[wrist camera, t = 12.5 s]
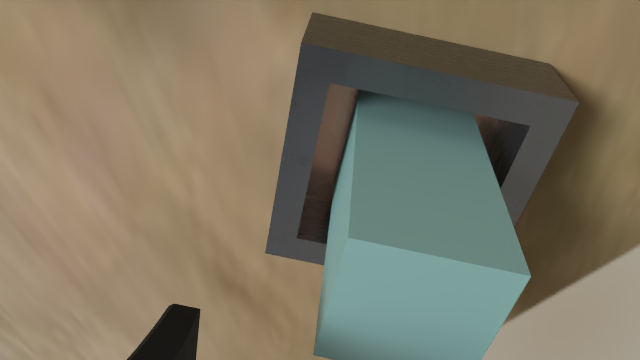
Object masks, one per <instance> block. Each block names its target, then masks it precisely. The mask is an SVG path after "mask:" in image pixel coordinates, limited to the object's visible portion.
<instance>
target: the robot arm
mask: <svg viewBox="0 0 640 360" xmlns="http://www.w3.org/2000/svg"><path fill="white" fill-rule="evenodd" d="M199 318H200V309H198V308H193V307H188V306H183V305H178V304H172V305H170V306H168V308H167V309H166V311H165V312H164V314H163V315H162V316H161V318H160V319H159V321H158V322H157V323H156V325H155V326H154V327H153V329H152V330H151V331H150V332H149V334H148V335H147V336H146V337H145V339H144V340H143V341H142V342H141V344H140V345H139V346H138V347H137V348H136V350H135V351H134V352H133V353H132V354H131V356H130V357H129V358H128V359H127V360H196V352H197V340H198V329H199Z"/></svg>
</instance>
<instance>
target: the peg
mask: <svg viewBox="0 0 640 360" xmlns="http://www.w3.org/2000/svg"><path fill="white" fill-rule="evenodd" d="M530 278H531V274H530V272H529V269H528V266H527V263H526V260H525V257H524V255H523V252H522V249H521V246H520V243H519V241H518V238H517V235H516V232H515V229H514V227H513V224H512V221H511V218H510V215H509V213H508V210H507V207H506V204H505V201H504V199H503V196H502V193H501V190H500V187H499V185H498V182H497V179H496V176H495V173H494V171H493V168H492V165H491V162H490V159H489V157H488V154H487V151H486V148H485V145H484V143H483V140H482V137H481V134H480V131H479V129H478V126H477V123H476V120H475V117H474V115H473V113H468V112H463V111H458V110H454V109H449V108H444V107H440V106H435V105H430V104H426V103H421V102H416V101H412V100H407V99H402V98H398V97H393V96H388V95H384V94H379V93H374V92H370V91H365V90H360V89H358V92H357V96H356V100H355V104H354V108H353V112H352V116H351V119H350V123H349V127H348V131H347V135H346V139H345V143H344V147H343V151H342V154H341V158H340V162H339V166H338V170H337V174H336V178H335V182H334V190H333V198H332V206H331V214H330V223H329V231H328V239H327V247H326V255H325V263H324V271H323V280H322V288H321V296H320V304H319V312H318V320H317V329H316V337H315V345H314V353H313V355H315V356H320V357H325V358H330V359H335V360H482V358H483V356H484V355H485V353H486V351H487V350H488V348H489V346H490V345H491V343H492V341H493V340H494V338H495V336H496V334H497V333H498V331H499V329H500V328H501V326H502V324H503V323H504V321H505V319H506V318H507V316H508V314H509V313H510V311H511V309H512V308H513V306H514V304H515V303H516V301H517V299H518V298H519V296H520V294H521V293H522V291H523V289H524V288H525V286H526V284H527V283H528V281H529V279H530Z"/></svg>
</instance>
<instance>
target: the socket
mask: <svg viewBox="0 0 640 360" xmlns="http://www.w3.org/2000/svg"><path fill="white" fill-rule="evenodd" d="M358 89H360V90H365V91H370V92H374V93H379V94H384V95H388V96H393V97H398V98H402V99H407V100H412V101H416V102H421V103H426V104H430V105H435V106H440V107H444V108H449V109H454V110H458V111H463V112H468V113H473V115H474V117H475V120H476V123H477V126H478V129H479V131H480V134H481V137H482V140H483V143H484V145H485V148H486V151H487V154H488V157H489V159H490V162H491V165H492V168H493V171H494V173H495V176H496V179H497V182H498V185H499V187H500V190H501V193H502V196H503V199H504V201H505V204H506V207H507V210H508V213H509V215H510V218H511V221H512V224H513V227H515V225H516V223H517V222H518V220H519V218H520V216H521V214H522V212H523V210H524V208H525V206H526V204H527V202H528V200H529V198H530V197H531V195H532V193H533V191H534V189H535V187H536V185H537V183H538V181H539V179H540V177H541V175H542V174H543V172H544V170H545V168H546V166H547V164H548V162H549V160H550V158H551V156H552V154H553V152H554V150H555V149H556V147H557V145H558V143H559V141H560V139H561V137H562V135H563V133H564V131H565V129H566V127H567V125H568V124H569V122H570V120H571V118H572V116H573V114H574V112H575V110H576V108H577V106H578V104H579V101H578V100H577V99H576V97H575V96H574V95H573V93H572V92H571V91H570V90H569V88H568V87H567V86H566V84H565V83H564V82H563V81H562V79H561V78H560V77H559V75H558V74H557V73H556V72H555V70H554V69H553V68H552V66H551V65H550V64H547V63H543V62H538V61H534V60H529V59H524V58H520V57H515V56H511V55H506V54H501V53H497V52H492V51H488V50H483V49H478V48H474V47H469V46H464V45H460V44H455V43H451V42H446V41H441V40H437V39H432V38H428V37H423V36H418V35H414V34H409V33H405V32H400V31H395V30H391V29H386V28H382V27H377V26H372V25H368V24H363V23H359V22H354V21H349V20H345V19H340V18H336V17H331V16H326V15H322V14H317V13H312V15H311V18H310V21H309V23H308V26H307V29H306V31H305V34H304V37H303V39H302V42H301V47H300V53H299V59H298V65H297V71H296V77H295V83H294V88H293V94H292V100H291V106H290V112H289V118H288V124H287V129H286V135H285V141H284V147H283V153H282V159H281V164H280V170H279V176H278V182H277V188H276V194H275V200H274V205H273V211H272V217H271V223H270V229H269V235H268V241H267V246H266V252H265V253H266V254H271V255H276V256H281V257H286V258H291V259H296V260H301V261H306V262H311V263H316V264H320V265H324V263H325V255H326V247H327V239H328V231H329V223H330V214H331V206H332V198H333V190H334V182H335V178H336V174H337V170H338V166H339V162H340V158H341V154H342V151H343V147H344V143H345V139H346V135H347V131H348V127H349V123H350V119H351V116H352V112H353V108H354V104H355V100H356V96H357V92H358Z"/></svg>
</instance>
